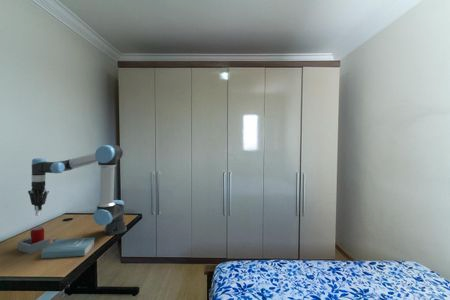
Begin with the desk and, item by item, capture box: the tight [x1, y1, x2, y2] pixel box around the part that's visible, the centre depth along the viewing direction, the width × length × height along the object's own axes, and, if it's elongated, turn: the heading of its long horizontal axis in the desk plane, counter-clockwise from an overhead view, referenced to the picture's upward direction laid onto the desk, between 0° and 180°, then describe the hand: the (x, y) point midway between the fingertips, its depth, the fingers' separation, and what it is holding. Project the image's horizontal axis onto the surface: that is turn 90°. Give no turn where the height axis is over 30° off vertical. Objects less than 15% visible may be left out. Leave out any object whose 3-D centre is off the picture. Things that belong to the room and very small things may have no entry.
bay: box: [17, 237, 59, 255], centre depth 149 cm, size 14×15×5 cm
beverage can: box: [30, 226, 45, 244], centre depth 149 cm, size 7×7×12 cm
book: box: [41, 237, 96, 259], centre depth 144 cm, size 23×16×5 cm
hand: (38, 214), depth 163 cm, fingers closed
